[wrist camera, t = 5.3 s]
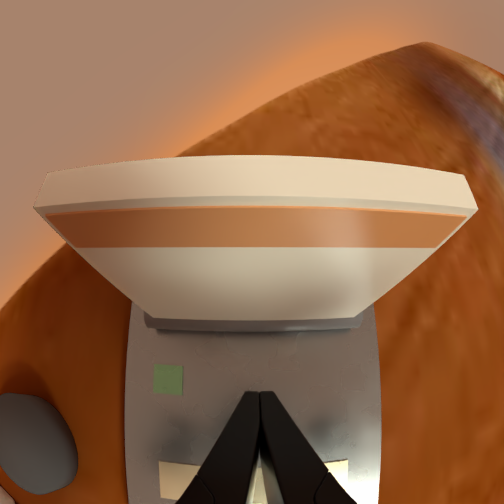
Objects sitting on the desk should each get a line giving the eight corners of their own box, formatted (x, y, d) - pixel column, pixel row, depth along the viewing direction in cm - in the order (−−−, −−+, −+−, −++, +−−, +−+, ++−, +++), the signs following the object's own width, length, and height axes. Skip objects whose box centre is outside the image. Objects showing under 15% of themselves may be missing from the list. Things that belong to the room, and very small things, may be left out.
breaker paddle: (353, 330, 15) (496, 225, 5) (153, 331, 15) (13, 224, 5) (350, 299, 16) (470, 165, 6) (155, 300, 16) (39, 162, 6)
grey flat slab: (369, 512, 11) (376, 518, 10) (136, 514, 11) (130, 520, 10) (362, 272, 18) (368, 266, 17) (142, 272, 18) (136, 265, 17)
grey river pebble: (98, 464, 12) (79, 471, 10) (46, 499, 10) (27, 506, 8) (41, 377, 15) (19, 373, 12) (-3, 421, 12) (-23, 420, 10)
